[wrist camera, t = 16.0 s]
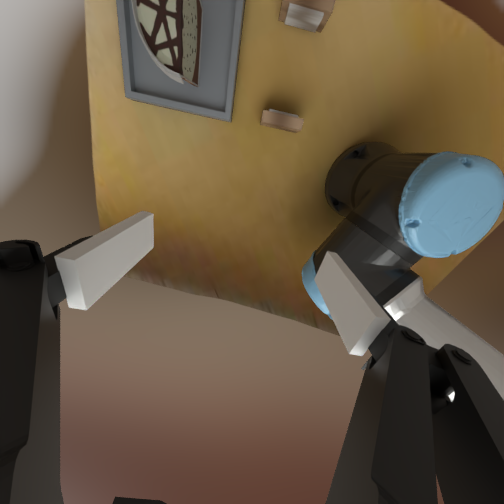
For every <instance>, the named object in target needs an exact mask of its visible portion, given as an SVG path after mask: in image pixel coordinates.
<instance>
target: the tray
mask: <svg viewBox="0 0 504 504" xmlns="http://www.w3.org/2000/svg"><path fill="white" fill-rule="evenodd" d="M201 3H202V6H203V25H202V42H201V59H200V76H199V87H196V86H193V85H192V84H190V83H188V82H187V81H185V80H183V79H182V80H183V82H184V84H182V83H179V82H177V81H175V80H173V79H171V78H170V77H169V76H167V75H166V74H165V73H164V72H163V71H162V70H161V69H160V68H159V67H158V66H157V65H156V63H155V62H154V61H153V59H152V58H151V56H150V55H149V53H148V51H147V49H146V48H145V46H144V44H143V42H142V40H141V37H140V35H139V33H138V29H137V26H136V23H135V19H134V15H133V9H132V1H131V0H116V4H117V14H118V24H119V35H120V45H121V55H122V66H123V76H124V86H125V97H127V98H129V99H131V100H134V101H138V102H143V103H147V104H151V105H156V106H160V107H165V108H169V109H174V110H178V111H182V112H187V113H191V114H196V115H200V116H204V117H209V118H213V119H218V120H222V121H227V122H231V121H232V112H233V104H234V95H235V87H236V78H237V69H238V61H239V52H240V43H241V35H242V26H243V17H244V9H245V0H201Z"/></svg>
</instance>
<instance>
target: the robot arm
mask: <svg viewBox="0 0 504 504" xmlns="http://www.w3.org/2000/svg"><path fill="white" fill-rule="evenodd" d="M325 194H326V199H327V201H328V203H329V205H330V206H331V207H332V209H333V210H335V211H336V212H337V213H339V214H340V215H342V216H344V217H346V218H345V219H344V220H343V221H342V222H341V223H340V224H339V225H338V227H337V228H336V229H335V230H334V231H333V232H332V233H331V235H330V236H329V237H328V238H327V239H326V240H325V241H324V242H323V243H322V245H321V246H320V247H319V248H318V249H317V250H315V251H314V252H313V253H312V256H311V257H310V259H309V260H308V261H307V262H306V264H305V265H304V267H303V269H302V280H303V284H304V286H305V288H306V290H307V292H308V294H309V296H310V297H311V299H312V300H313V301H314V303H315V304H316V305H317V306H318V307H319V309H320V310H321V311H322V312H324V313H325V314H328V316H329V317H330V318H331V319H333V321H334V323H335V325H336V327H337V330H338V332H339V334H340V336H341V338H342V340H343V342H344V344H345V347H346V349H347V351H348V353H349V354H354V355H359V356H363V354H364V353H365V352H366V351H367V349H369V350H370V352H371V354H372V356H371V357H370V358H369V360H368V361H367V362H366V363H365V364H364V366H363V367H362V369H363V370H364V369H365V368H366V370H365V373H364V376H363V380H362V383H361V386H360V390H359V393H358V396H357V400H356V403H355V407H354V410H353V413H352V417H351V420H350V423H349V427H348V430H347V434H346V437H345V440H344V444H343V447H342V450H341V454H340V457H339V460H338V464H337V467H336V470H335V474H334V477H333V481H332V484H331V488H330V491H329V494H328V497H327V501H326V503H325V504H438V501H437V486H436V475H437V479H438V482H439V486H440V490H441V493H442V497H443V501H444V504H504V355H502V354H501V353H500V352H499V351H497V350H496V349H495V348H494V347H492V346H491V345H490V344H488V343H487V342H486V341H484V340H483V339H482V338H481V337H479V336H478V335H476V334H475V333H474V332H473V331H471V330H470V329H469V328H467V327H466V326H465V325H463V324H462V323H461V322H460V321H458V320H457V319H456V318H454V317H453V316H452V315H451V314H449V313H448V312H447V311H445V310H444V309H443V308H441V307H440V306H439V305H438V304H436V303H435V302H434V301H432V300H431V299H430V298H428V297H427V296H426V295H425V293H424V289H423V281H422V277H421V276H419V275H418V274H416V273H415V272H413V271H412V270H411V269H410V267H411V266H412V265H414V264H415V263H416V262H417V261H418V260H420V259H421V258H422V257H423V256H426V257H433V258H444V257H448V256H450V254H458V253H461V252H463V251H465V250H467V249H468V248H470V247H471V246H473V245H474V244H476V243H477V242H478V241H479V240H480V239H481V238H483V237H484V236H485V235H486V233H487V232H488V231H489V230H490V229H491V228H492V226H493V225H494V223H495V222H496V220H497V219H498V217H499V215H500V212H501V210H502V208H503V201H504V176H503V173H502V172H501V170H500V169H499V167H498V166H497V165H496V164H495V163H493V162H492V161H490V160H489V159H486V158H484V157H480V156H476V155H467V154H459V153H456V152H455V153H454V152H441V153H401V152H399V151H398V150H396V149H395V148H394V147H392V146H391V145H388V144H386V143H381V142H367V143H362V144H358V145H356V146H353V147H351V148H350V149H348V150H347V151H345V152H344V153H343V154H342V155H340V156H339V157H338V159H337V160H336V161H335V162H334V164H333V165H332V167H331V169H330V170H329V173H328V175H327V178H326V183H325ZM353 223H354V224H353ZM356 225H357V226H356ZM363 230H364V231H363ZM370 235H371V236H370ZM152 248H154V230H153V213H150V212H145V211H141V212H139V213H137V214H135V215H133V216H131V217H129V218H127V219H125V220H124V221H122V222H120V223H118V224H116V225H114V226H112V227H110V228H108V229H106V230H104V231H102V232H100V233H99V234H96V235H95V236H89V237H85V238H81V239H79V240H77V241H75V242H73V243H72V244H69V245H67V246H65V247H63V248H60V249H59V250H56V251H54V252H53V253H50V254H48V255H46V256H44V257H43V255H42V252H41V248H40V245H39V244H38V243H37V242H35V241H31V240H11V241H4V242H0V504H64V503H63V497H62V492H61V486H60V307H59V303H60V302H61V301H63V300H64V299H65V298H66V299H67V302H68V306H69V307H70V308H76V309H81V310H87V309H88V308H89V307H90V306H92V305H93V304H94V303H95V302H96V301H97V300H98V299H99V298H100V297H101V296H102V295H103V294H104V293H105V292H107V291H108V290H109V289H110V288H111V287H112V286H113V285H114V284H115V283H116V282H117V281H118V280H119V279H121V278H122V277H123V276H124V275H125V274H126V273H127V272H128V271H129V270H130V269H131V268H132V267H133V266H134V265H135V264H137V263H138V262H139V261H140V260H141V259H142V258H143V257H144V256H145V255H146V254H147V253H148V252H149V251H150V250H151V249H152ZM411 264H412V265H411ZM113 504H166V503H164V502H163V501H160V500H147V499H135V498H122V497H115V499H114V501H113Z"/></svg>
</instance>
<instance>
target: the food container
mask: <svg viewBox="0 0 504 504" xmlns="http://www.w3.org/2000/svg"><path fill="white" fill-rule="evenodd" d="M131 1H132V9H133V15H134V19H135V23H136V26H137V29H138V33H139V35H140V37H141V40H142V42H143V44H144V46H145V48H146V49H147V51H148V53H149V55H150V56H151V58H152V59H153V61H154V62H155V63H156V65H157V66H158V67H159V68H160V69H161V70H162V71H163V72H164V73H165V74H166V75H167V76H169V77H170V78H171V79H173V80H175V81H177V82H179V83H182V84H184V82H183V80H185V81H187V82H188V83H190V84H192V85H193V86H196V87H199V76H200V59H201V42H202V25H203V6H202V3H201V0H131ZM182 79H183V80H182Z"/></svg>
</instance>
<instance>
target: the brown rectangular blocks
mask: <svg viewBox="0 0 504 504" xmlns="http://www.w3.org/2000/svg"><path fill="white" fill-rule="evenodd" d="M334 4H335V0H282V4H281V10H280V15H279V21H282V22H285V24H286V25H290V26H294V27H297V28H301V29H304V30H308V31H311V32H315V31H318V32H321V31H322V29H323V28H324V26H325V24H326V22H327V21H328V19H329V17H330V16H331V14H332V12H333V8H334ZM303 122H304V119H301V118H298V115H294V114H290V113H286V112H281V111H277V110H273V109H269V111H267V110H263V113H262V118H261V123H260V125H264V126H268V127H272V128H277V129H281V130H286V131H290V132H294V133H296V132H298V131H301V129H302V126H303Z"/></svg>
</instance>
